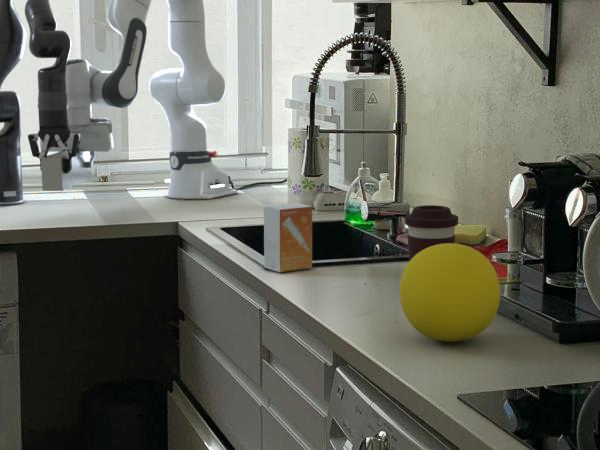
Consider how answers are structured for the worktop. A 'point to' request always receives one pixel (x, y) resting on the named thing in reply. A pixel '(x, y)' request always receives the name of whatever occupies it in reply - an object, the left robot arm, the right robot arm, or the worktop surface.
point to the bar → (56, 175)
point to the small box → (288, 237)
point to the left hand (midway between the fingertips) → (56, 172)
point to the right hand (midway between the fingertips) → (78, 167)
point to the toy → (450, 292)
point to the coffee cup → (429, 227)
